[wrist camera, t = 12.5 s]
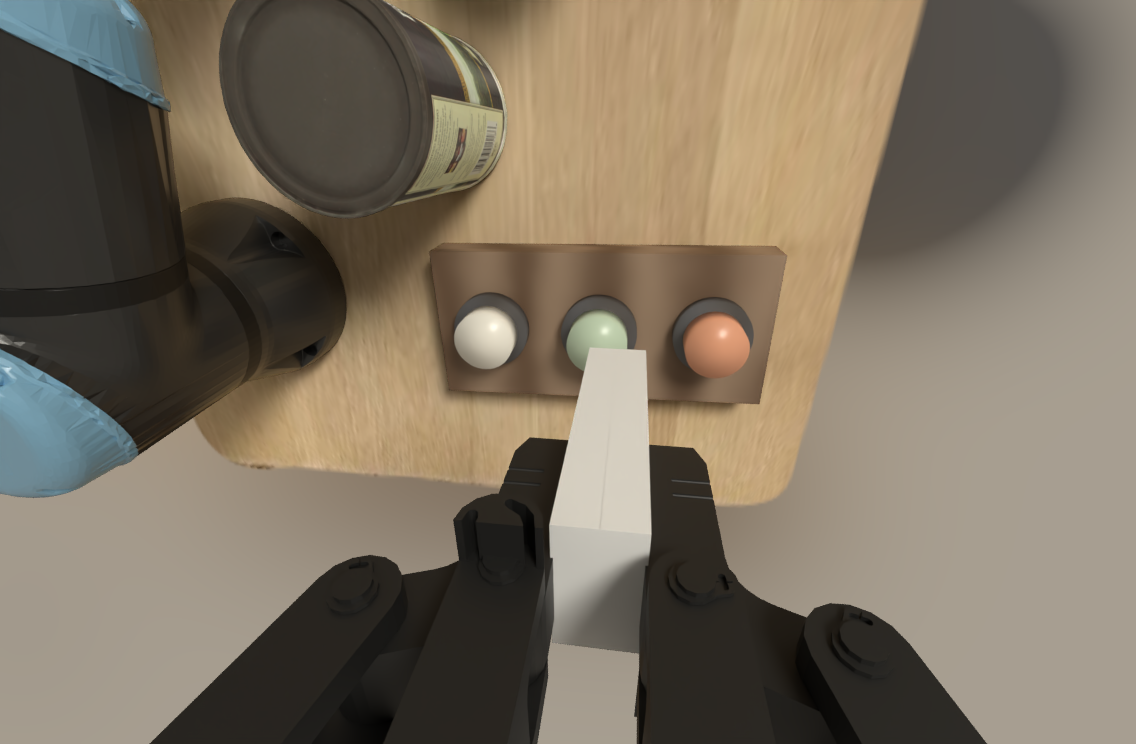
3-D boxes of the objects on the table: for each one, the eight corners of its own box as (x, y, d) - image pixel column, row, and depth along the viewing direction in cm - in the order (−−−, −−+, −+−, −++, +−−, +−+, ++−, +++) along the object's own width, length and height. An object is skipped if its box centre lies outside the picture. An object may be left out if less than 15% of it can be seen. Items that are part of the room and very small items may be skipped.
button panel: (460, 374, 45) (444, 396, 41) (443, 243, 39) (423, 254, 36) (751, 386, 42) (762, 411, 38) (775, 246, 36) (791, 259, 33)
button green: (570, 361, 38) (566, 372, 36) (569, 308, 36) (565, 317, 34) (626, 363, 37) (625, 375, 36) (628, 309, 35) (628, 319, 34)
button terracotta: (680, 365, 37) (682, 377, 35) (685, 310, 35) (688, 320, 33) (739, 367, 37) (744, 379, 35) (748, 312, 35) (754, 322, 33)
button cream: (465, 357, 39) (457, 367, 37) (459, 305, 37) (450, 313, 35) (519, 359, 39) (513, 370, 37) (515, 306, 37) (509, 315, 35)
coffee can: (359, 35, 34) (185, -31, 21) (503, 29, 32) (409, -44, 20) (384, 192, 38) (252, 217, 25) (512, 194, 37) (439, 220, 24)
